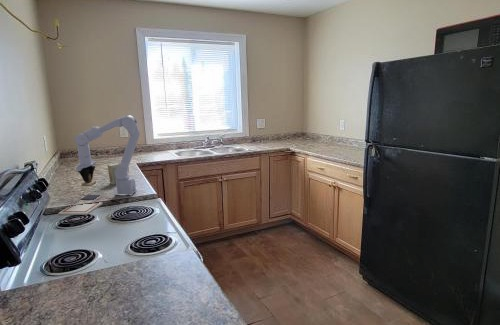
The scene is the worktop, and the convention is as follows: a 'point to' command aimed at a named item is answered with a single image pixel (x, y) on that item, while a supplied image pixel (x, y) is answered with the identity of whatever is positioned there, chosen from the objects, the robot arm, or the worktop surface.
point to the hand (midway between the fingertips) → (88, 180)
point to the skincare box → (112, 172)
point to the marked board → (80, 209)
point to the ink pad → (90, 197)
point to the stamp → (88, 181)
